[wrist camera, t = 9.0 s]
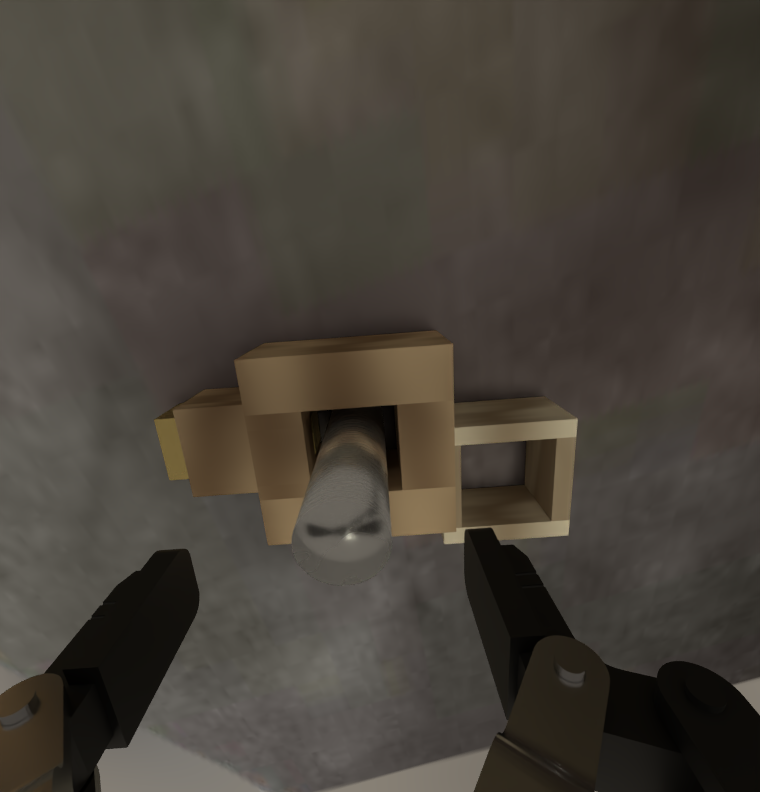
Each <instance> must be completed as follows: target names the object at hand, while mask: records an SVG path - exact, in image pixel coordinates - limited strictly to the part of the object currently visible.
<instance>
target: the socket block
mask: <svg viewBox="0 0 760 792" xmlns="http://www.w3.org/2000/svg"><path fill="white" fill-rule="evenodd" d="M234 363H235V369H236V374H237V379H238V385H239V387H232V388H219V389H205V390H203V391H201V392H200V393H198V394H197V395H195V396H194V397H192V398H190V399H189V400H187V401H186V402H184V403H183V404H181V405H179V406H178V407H176V408H175V409H173V414H174V418H175V422H176V427H177V431H178V435H179V439H180V443H181V447H182V452H183V456H184V460H185V464H186V468H187V472H188V477H189V481H190V485H191V489H192V493H193V497H201V496H214V495H228V494H242V493H256V492H258V493H259V499H260V504H261V509H262V515H263V520H264V526H265V531H266V536H267V542H268V545H279V544H291V540H292V533H293V530H294V527H295V524H296V521H297V518H298V514H299V511H300V508H301V505H302V502H303V499H304V496H305V493H306V490H307V487H308V484H309V481H310V478H311V475H312V472H313V469H314V466H315V463H316V459H317V456H318V453H319V450H320V447H321V444H322V443H319V446H318V449H317V452H316V454H315V451H314V443H313V436H312V428H311V421H310V412H311V411H318V410H331V409H345V408H359V407H372V406H386V405H394V411H395V426H396V441H397V449H393V450H386V460H387V474H388V489H389V503H390V518H391V532H392V536H406V535H420V534H434V533H448V532H456V486H455V431H454V375H453V344H452V343H451V342H450V341H449V340H447V339H446V338H445V337H444V336H442V335H441V334H440V333H439V332H437V331H436V330H434V331H420V332H407V333H394V334H380V335H367V336H353V337H340V338H327V339H313V340H300V341H286V342H273V343H263V344H262V345H260V346H258V347H256V348H255V349H253V350H251V351H249V352H248V353H246V354H244V355H242V356H241V357H239V358H237V359H235V360H234Z"/></svg>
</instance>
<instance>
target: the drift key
mask: <svg viewBox="0 0 760 792" xmlns="http://www.w3.org/2000/svg"><path fill="white" fill-rule="evenodd" d="M181 404H183V403H181ZM181 404H178V405H176V406H175V407H173V408H172V409H170V410H169V411H167V412H165V413H164V414H162V415H161V416H159V417H157V418H156V419H154V422H155V426H156V430H157V433H158V437H159V441H160V445H161V449H162V453H163V457H164V461H165V465H166V468H167V472H168V476H169V480H180V479H189V477H188V472H187V468H186V464H185V460H184V456H183V452H182V447H181V443H180V439H179V435H178V431H177V427H176V422H175V418H174V414H173V409H175V408H176V407H178V406H179V405H181ZM310 421H311V428H312V436H313V443H314V451H315V454H316V452H317V449H318V446H319V443H320V440H321V437H320V429H319V421H318V414H317V411H311V412H310Z"/></svg>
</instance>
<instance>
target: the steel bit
mask: <svg viewBox="0 0 760 792" xmlns="http://www.w3.org/2000/svg"><path fill="white" fill-rule="evenodd" d="M291 545H292V551H293V555H294V557H295V559H296V561H297V563H298V564H299V566H300V567H301V568H302V569H303V570H304V571H305V572H306V573H307V574H308V575H310V576H311V577H313V578H314V579H316V580H318V581H321V582H323V583H327V584H331V585H338V586H348V585H355V584H359V583H362V582H364V581H367V580H369V579H371V578H372V577H374V576H375V575H376V574H378V573H379V572H380V571H381V570H382V569H383V568H384V566H385V565H386V563H387V562H388V559H389V557H390V554H391V550H392V532H391V518H390V503H389V489H388V474H387V460H386V445H385V431H384V417H383V411H382V408H381V406H372V407H359V408H345V409H333V411H332V414H331V417H330V420H329V423H328V426H327V429H326V432H325V435H324V438H323V441H322V444H321V447H320V450H319V453H318V456H317V459H316V463H315V466H314V469H313V472H312V475H311V478H310V481H309V484H308V487H307V490H306V493H305V496H304V499H303V502H302V505H301V508H300V511H299V514H298V518H297V521H296V524H295V527H294V530H293V533H292V540H291Z"/></svg>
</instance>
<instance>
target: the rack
mask: <svg viewBox="0 0 760 792" xmlns="http://www.w3.org/2000/svg"><path fill="white" fill-rule="evenodd" d="M577 420H578V419H577V418H576V417H574V416H573V415H571V414H570V413H568V412H567V411H565V410H564V409H562V408H561V407H559V406H558V405H556V404H555V403H554V402H552V401H551V400H549V399H548V398H546V397H545V396H543V397H529V398H515V399H502V400H488V401H474V402H461V403H454V431H455V486H456V532H448V533H441V534H442V537H443V541H444V544H453V543H464V533H465V529H475V528H488V527H491V528H492V529H493V531H494V533H495V535H496V537H497V539H498V540H510V539H524V538H538V537H552V536H567V535H568V533H569V520H570V508H571V495H572V483H573V470H574V458H575V445H576V433H577ZM513 441H526V463H525V485H515V486H501V487H487V488H473V489H461V445H472V444H486V443H500V442H513Z"/></svg>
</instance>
